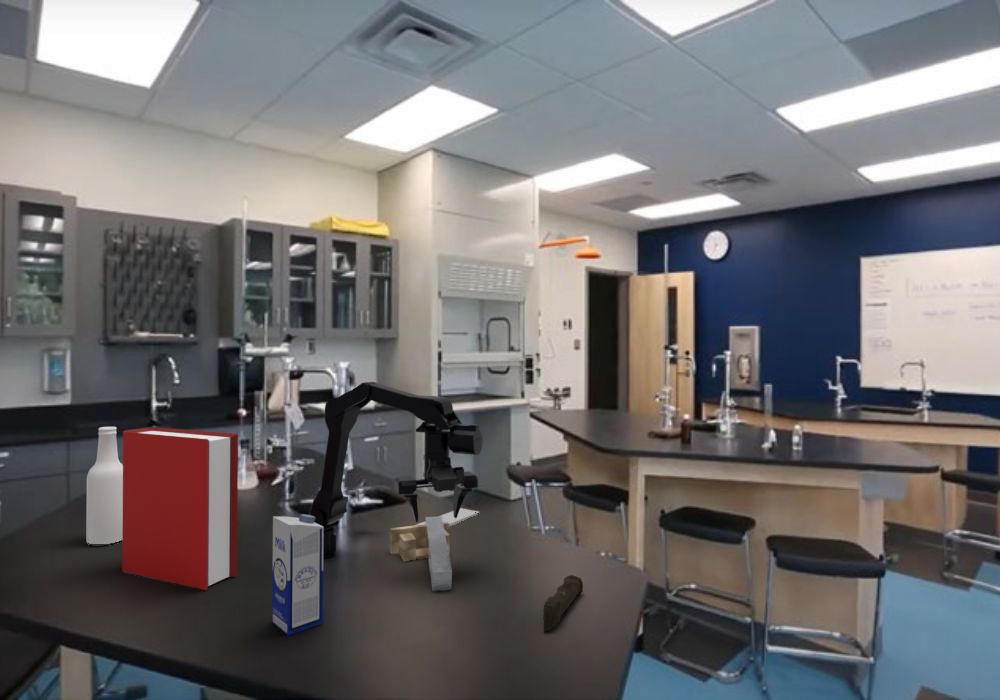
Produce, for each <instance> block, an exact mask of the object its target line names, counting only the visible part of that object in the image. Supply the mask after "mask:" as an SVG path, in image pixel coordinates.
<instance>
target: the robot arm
mask: <svg viewBox="0 0 1000 700" xmlns="http://www.w3.org/2000/svg"><path fill="white" fill-rule="evenodd" d="M371 401H372V402H375V403H379V404H382V405H386V406H390V407H394V408H396V409H399V410H403V411H407V412H409V413H410V414H412V415H413V416H414V417H416V418H417V419H418V420H421V421H422V422H421V424H420V425H419V426H418V427H417V428H416V429H415V432H417V433H424V439H423V440H424V442H423V443H424V445H423V446H424V449H423V451H424V453H423V457H422V458H423V461H424V462H423V463H424V464H423V472H422V473H423V475H422V479H421V478H419V479H415V477H413V476H412V475H406V476H405V475H404V476H396V477H395V478H394V481H393V489H394V491H395V492H396V493H397V494H398V495H401V496H402V497H404V498H406V500H407V503H408V504H409V507H410V511H411V513H412V516H413V519H414V521H415V523H419V508H418V507H419V506H418V493H417V492H416V491H417V489H421V488H422V489H423V488H433V491H435V492H437V493H442V492H445V491H446V492H447V491H450V492H453V503H452V504H453V506H452V507H453V508H452V509H453V510H452V511H453V514H454V518H457V516H458V513H459V510H460V508H462V504H463V501H464V499H465V497H466V496H467V495H468V494H469V493H470V492H473V491H474V490H473V489H477V488H479V477H478V476H477V475H476V474H474V473H473V472H472V471H468V470H467V471H465V468H464V467H463V466H455V467H453V466H452V460H451V457H450V451H451V452H452V453H453V454H455V455H457V454H461V455H471V456H472V455H473V456H479V455H480V454H481V451H482V448H483V441H484V440H483V437H482V433H481V430H480V425H479V424H477V423H474V424H473V423H472V424H463V423H462V421H461V420H460V418H459V416H457V413H456V412H455V411H454V406H453V404H452V401H451V400H450V399H449V398H448V397H445V396H436V395H435V396H434V395H417V394H414V393H411V392H408V391H407V392H406V391H403V390H401V389H397V388H393V387H389V386H387V385H382V384H380V383H377V382H375V381H366V382H365V381H364V382H361V383H360V384H359V385H357V386H356V387H354V388H352V389H350V390H348V391H347V392H344V393H343V394H340V395H339V396H336V397H335V396H334V397H331V398H330V399H329V400H327V401H326V403H325V405H324V422H325V424H326V428H327V430H328V436H327V443H326V449H325V450H326V451H325V455H324V456H325V457H324V463H323V471H322V477H321V484H320V489H319V491H318V492H317V494H316V496H315V497H314V499H313V501H312V503H311V507H310V510H309V514H308V515H311V516H314V517H315V520H314V522H315V523H317V524H319V525H321V526H323V527H324V534H323V559H326V558H334V557H336V554H335V553H336V552H337V534H336V532H335V530H334V528H335V527H337V526H339V523H340V522H341V521H340V520H341V519H342V518H344V515H345V514H346V513H347V512H348V508H347V505H348V501H349V496H344V494H343V492H342V485H343V477H344V470H345V464H346V457H347V451H348V443H349V437H350V433H351V431H352V430H353V428H354V426H355V424H356V423H357V421H358V417H359V415H360V412H361V409H363V408H365V407H366V406H367V405H368V404H369V403H370V402H371Z"/></svg>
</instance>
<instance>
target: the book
mask: <svg viewBox="0 0 1000 700" xmlns="http://www.w3.org/2000/svg"><path fill="white" fill-rule="evenodd" d="M238 453H239V433H231V432H218V431H206V430H205V431H204V430H197V429H196V430H195V429H194V430H193V429H183V428H182V429H181V428H170V427H156V426H154V427H153V426H152V427H142V428H140V427H139V428H135V429H126V430H124V431H122V465H123V532H122V542H121V543H122V544H121V545H122V548H121V551H122V554H121V555H122V557H121V558H122V561H121V563H122V565H121V567H122V570H121V572H122V571H125V572H129V573H133V574H137V575H142V576H147V577H151V578H156V579H160V580H164V581H169V582H174V583H178V584H183V585H188V586H193V587H196V588H200V589H204V590H207V591H208V589H209V588H208V587H209V586H211V585H214V584H216V583H218V582H220V581H222V580H225V579H226V578H229V577H231V578H238V497H239V496H238V490H239V489H238V486H239V484H238V482H239V481H238V478H239V477H238V475H239V474H238V472H239V471H238V467H239V463H238V462H239V461H238V460H239V459H238V458H239V457H238V455H239V454H238Z"/></svg>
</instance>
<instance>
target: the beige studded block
mask: <svg viewBox="0 0 1000 700" xmlns="http://www.w3.org/2000/svg"><path fill="white" fill-rule="evenodd" d="M443 525H444V531H445V536H446V542H447V547H448V552H449V556H450V554H451V552H450V551H451V549H450V545H451V544H450V543H451V540H450V527H449V523H448V522H443ZM389 530H390V531H389V532H390V533H389V536H390V537H389V538H390V539H389V542H390V545H389V546H390V547H389V548H390V549H389V550H390V551H389V552H390V555H395V554H396V555H397V554H398V555H399V556H401V557H400V558H401V559H402V561H403V562H410V560H412V561H416V559H419V560H424V559H423V558H426V559H428V552H427V544H426V536H425V524H424V525H417V524H415V526H414V525H409V526H400V527H398V526H397V527H392V528H389Z"/></svg>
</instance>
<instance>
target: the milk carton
mask: <svg viewBox="0 0 1000 700" xmlns="http://www.w3.org/2000/svg"><path fill="white" fill-rule="evenodd" d="M314 520H315V517H314V516H311V515H309V514H303V513H300V514H299V517H293V516H284V515H283V516H272V593H271V594H272V603H271V605H272V607H271V609H272V613H271V617H272V619H271V620H272V623H273V624H274V625H275V626H276V627H277V628H278V629H280V630H281V631H282V632H283V633H285V634H286V635H287V636H292V635H294V634H296V633H299V632H300V633H301V632H302V631H306V630H308V629H310V627H311V628H313V627H316V626H318V625H322V624H324V558H323V534H324V527H323V526H321V525H319V524H317V523H315V522H314Z"/></svg>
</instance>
